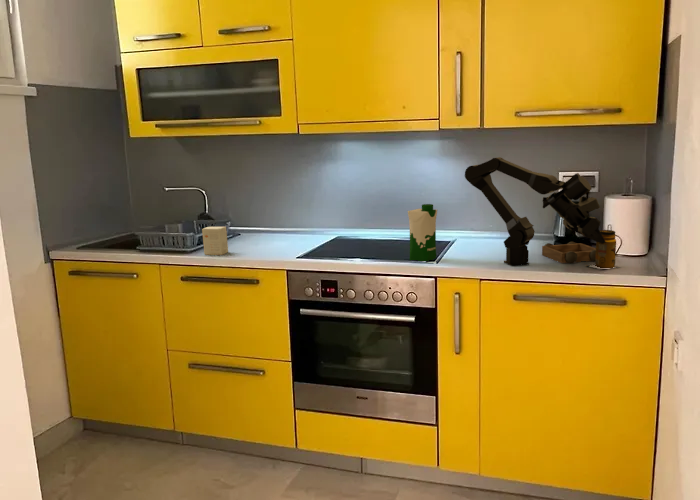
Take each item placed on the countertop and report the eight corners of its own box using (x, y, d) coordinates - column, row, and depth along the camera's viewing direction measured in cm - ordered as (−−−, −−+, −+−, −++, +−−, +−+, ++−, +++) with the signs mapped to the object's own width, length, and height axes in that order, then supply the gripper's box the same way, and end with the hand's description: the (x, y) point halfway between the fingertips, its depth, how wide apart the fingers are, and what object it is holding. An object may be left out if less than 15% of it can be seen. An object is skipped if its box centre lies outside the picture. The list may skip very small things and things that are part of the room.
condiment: (621, 267, 202) (622, 231, 200) (601, 271, 199) (602, 234, 196) (603, 263, 209) (605, 228, 206) (584, 266, 205) (585, 230, 203)
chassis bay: (563, 264, 210) (563, 252, 209) (540, 254, 225) (540, 243, 225) (604, 260, 212) (604, 249, 211) (578, 251, 228) (579, 241, 227)
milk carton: (427, 263, 218) (426, 206, 214) (405, 260, 223) (404, 205, 219) (440, 258, 224) (439, 203, 220) (418, 256, 230) (418, 202, 226)
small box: (228, 252, 250) (226, 226, 247) (222, 255, 244) (220, 228, 242) (210, 251, 252) (208, 226, 250) (203, 254, 246) (201, 228, 244)
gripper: (595, 192, 189) (629, 226, 191) (573, 186, 208) (605, 218, 210) (568, 218, 191) (602, 252, 193) (549, 210, 209) (581, 241, 211)
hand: (598, 240), depth 202 cm, fingers open, 9 cm apart
